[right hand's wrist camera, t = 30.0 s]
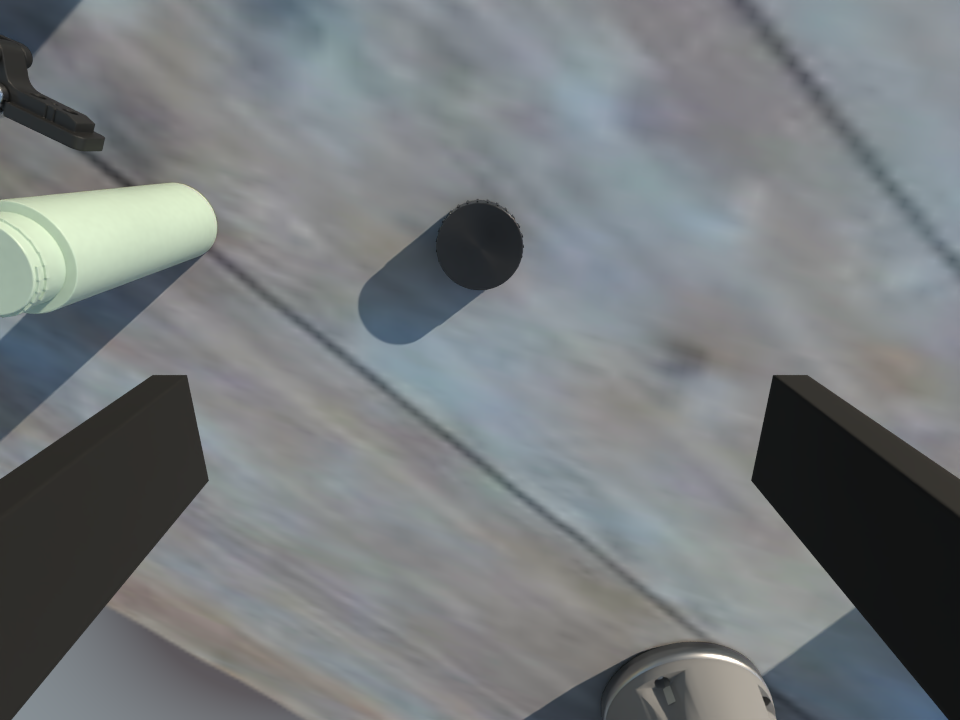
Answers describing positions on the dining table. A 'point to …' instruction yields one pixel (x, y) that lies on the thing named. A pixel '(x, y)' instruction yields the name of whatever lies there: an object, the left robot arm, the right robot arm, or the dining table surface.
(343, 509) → the dining table surface
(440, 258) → the lid
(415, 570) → the dining table surface
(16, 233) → the jar
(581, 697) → the dining table surface
